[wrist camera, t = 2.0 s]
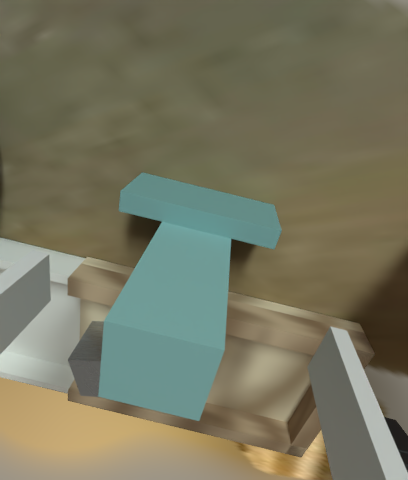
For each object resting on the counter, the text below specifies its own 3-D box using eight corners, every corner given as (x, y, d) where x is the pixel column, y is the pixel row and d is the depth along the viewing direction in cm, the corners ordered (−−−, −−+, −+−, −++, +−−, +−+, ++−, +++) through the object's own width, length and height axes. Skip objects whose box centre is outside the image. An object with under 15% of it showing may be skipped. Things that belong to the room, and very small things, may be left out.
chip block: (101, 354, 27) (80, 395, 23) (92, 320, 25) (67, 359, 21) (144, 357, 26) (129, 399, 23) (138, 322, 24) (120, 362, 21)
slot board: (83, 372, 30) (67, 400, 27) (87, 256, 23) (67, 278, 20) (295, 424, 30) (301, 457, 27) (359, 323, 23) (374, 353, 21)
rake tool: (142, 172, 20) (25, 272, 9) (274, 204, 20) (314, 343, 9) (134, 239, 22) (35, 381, 11) (251, 268, 22) (262, 436, 11)
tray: (-39, 341, 29) (-61, 362, 27) (-68, 220, 23) (-101, 234, 21) (83, 371, 30) (70, 394, 27) (87, 258, 23) (71, 276, 21)
